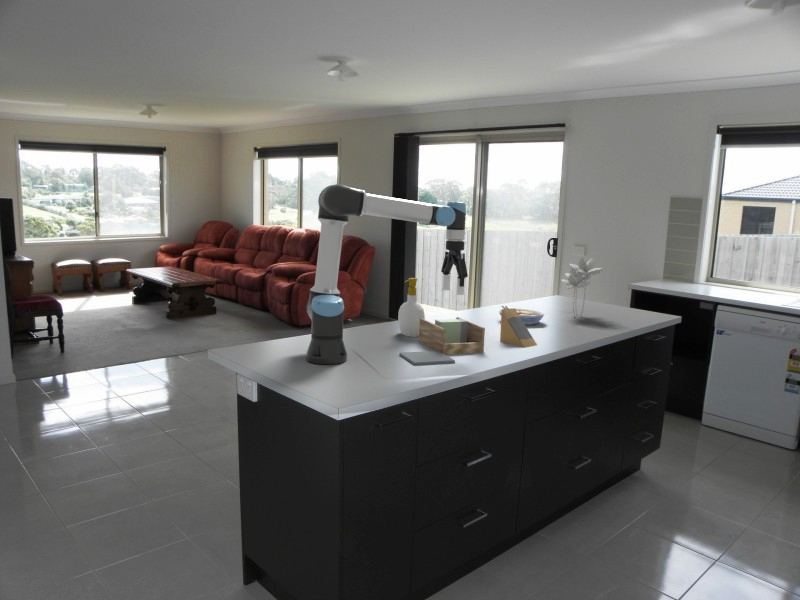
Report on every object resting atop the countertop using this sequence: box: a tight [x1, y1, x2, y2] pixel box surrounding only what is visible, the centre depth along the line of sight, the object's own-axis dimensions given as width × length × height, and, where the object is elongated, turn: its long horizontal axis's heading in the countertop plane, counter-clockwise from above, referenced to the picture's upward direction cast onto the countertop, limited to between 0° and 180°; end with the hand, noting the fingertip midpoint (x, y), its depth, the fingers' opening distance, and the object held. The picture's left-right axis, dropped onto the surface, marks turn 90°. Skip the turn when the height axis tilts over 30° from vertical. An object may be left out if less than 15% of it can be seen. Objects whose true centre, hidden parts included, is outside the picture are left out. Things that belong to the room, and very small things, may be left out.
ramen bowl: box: [498, 305, 545, 326], centre depth 300 cm, size 25×23×8 cm
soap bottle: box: [397, 277, 426, 338], centre depth 264 cm, size 14×9×26 cm, turn 45°
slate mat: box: [399, 350, 456, 366], centre depth 225 cm, size 16×16×1 cm
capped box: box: [434, 318, 468, 344], centre depth 247 cm, size 12×6×11 cm, turn 110°
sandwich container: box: [499, 307, 538, 349], centre depth 254 cm, size 9×15×15 cm, turn 37°
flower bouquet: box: [560, 257, 604, 318], centre depth 315 cm, size 17×34×21 cm
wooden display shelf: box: [418, 316, 486, 355], centre depth 247 cm, size 18×25×10 cm
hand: (453, 292), depth 245 cm, fingers open, 13 cm apart
